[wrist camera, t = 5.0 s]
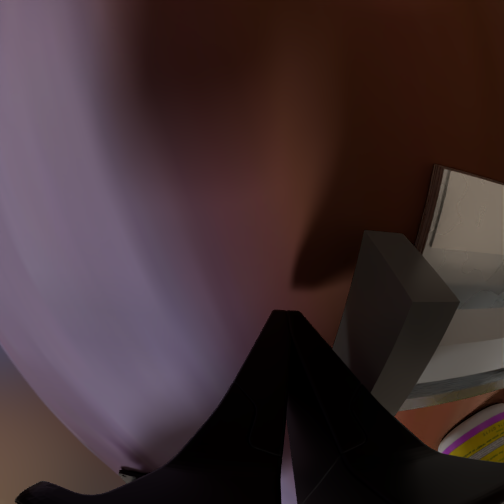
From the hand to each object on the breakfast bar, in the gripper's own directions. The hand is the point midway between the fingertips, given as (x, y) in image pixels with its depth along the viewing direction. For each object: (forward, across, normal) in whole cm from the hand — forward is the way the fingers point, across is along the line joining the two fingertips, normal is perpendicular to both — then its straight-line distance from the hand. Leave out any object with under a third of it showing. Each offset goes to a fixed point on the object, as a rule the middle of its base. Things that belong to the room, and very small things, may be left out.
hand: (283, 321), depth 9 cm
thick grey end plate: (0, -8, -1) cm, 8 cm away
